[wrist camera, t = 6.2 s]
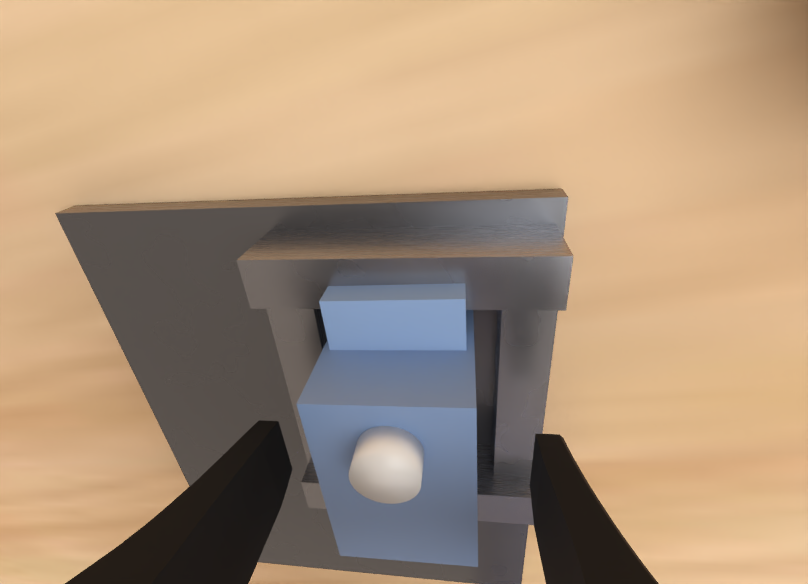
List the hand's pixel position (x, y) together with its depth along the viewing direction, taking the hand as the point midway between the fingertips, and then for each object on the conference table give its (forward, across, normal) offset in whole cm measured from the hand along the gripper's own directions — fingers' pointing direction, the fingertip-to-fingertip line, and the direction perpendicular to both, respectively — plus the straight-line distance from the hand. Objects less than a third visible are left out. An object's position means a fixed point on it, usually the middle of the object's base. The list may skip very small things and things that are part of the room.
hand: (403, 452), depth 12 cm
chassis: (+4, +4, +4) cm, 7 cm away
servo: (+4, 0, 0) cm, 4 cm away
